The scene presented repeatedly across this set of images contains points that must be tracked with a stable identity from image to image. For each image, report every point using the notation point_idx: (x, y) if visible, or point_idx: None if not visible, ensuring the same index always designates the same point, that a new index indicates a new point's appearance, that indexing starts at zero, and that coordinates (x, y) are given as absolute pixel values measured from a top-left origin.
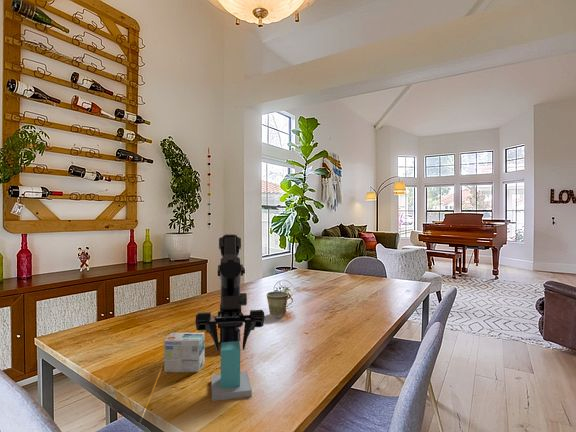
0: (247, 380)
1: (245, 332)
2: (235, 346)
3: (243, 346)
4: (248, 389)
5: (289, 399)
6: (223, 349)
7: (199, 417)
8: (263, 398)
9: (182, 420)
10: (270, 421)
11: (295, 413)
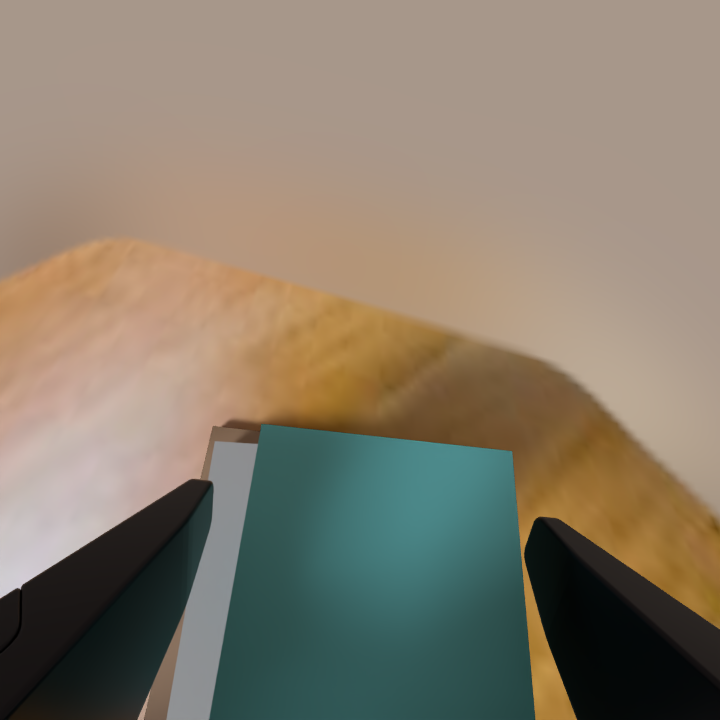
0: (206, 577)
1: (19, 639)
2: (312, 523)
3: (197, 487)
4: (233, 454)
5: (13, 411)
6: (480, 473)
7: (484, 399)
8: (152, 462)
9: (552, 400)
10: (191, 287)
11: (56, 300)
